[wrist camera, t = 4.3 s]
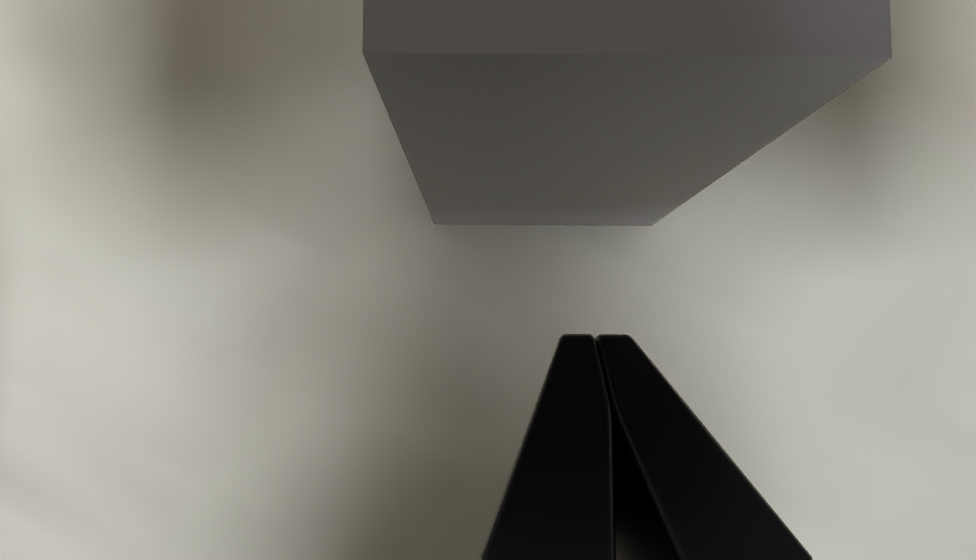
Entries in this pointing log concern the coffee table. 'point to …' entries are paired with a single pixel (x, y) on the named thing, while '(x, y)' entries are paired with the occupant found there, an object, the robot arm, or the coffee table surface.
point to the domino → (603, 96)
